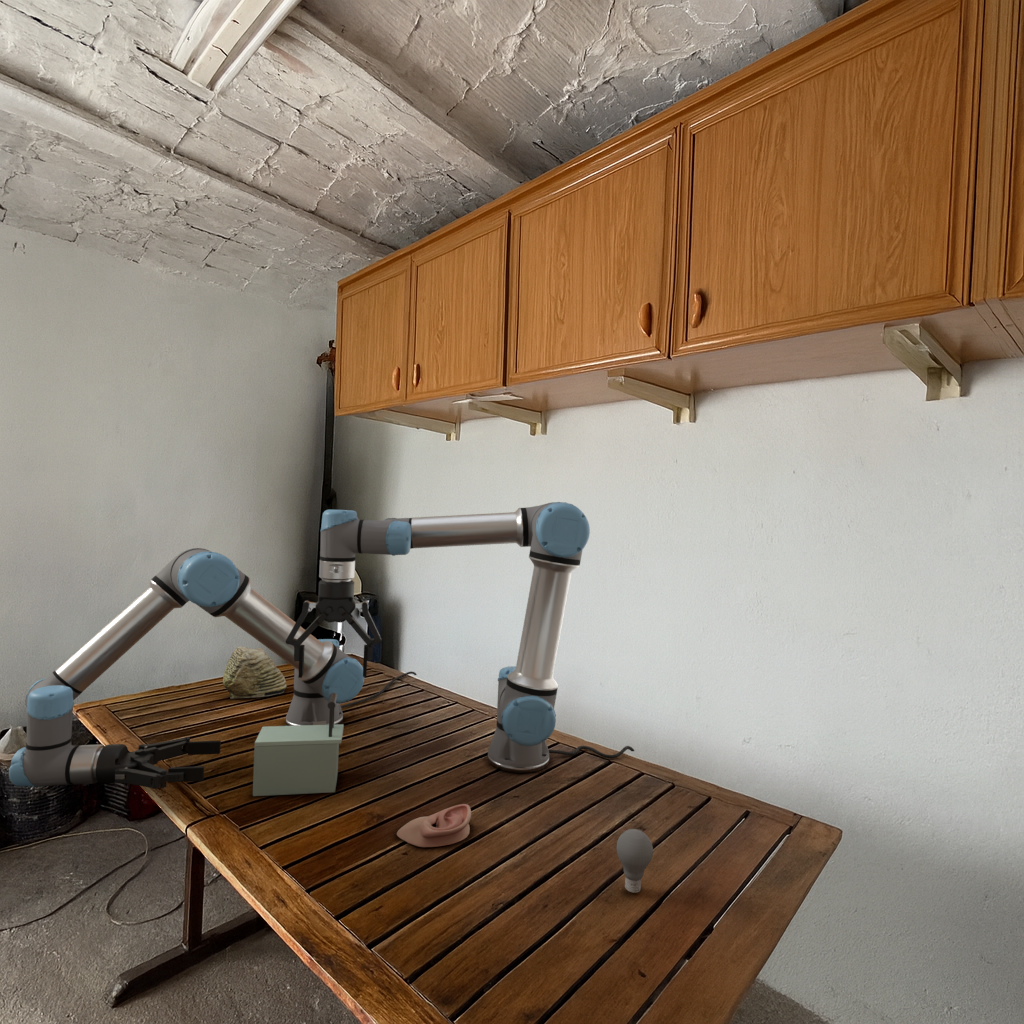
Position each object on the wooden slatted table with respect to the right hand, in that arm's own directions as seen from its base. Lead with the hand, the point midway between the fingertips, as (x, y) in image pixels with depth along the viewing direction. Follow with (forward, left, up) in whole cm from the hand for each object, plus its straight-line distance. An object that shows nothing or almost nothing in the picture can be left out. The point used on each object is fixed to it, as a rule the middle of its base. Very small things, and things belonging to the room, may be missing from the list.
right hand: (333, 675), depth 140 cm
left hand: (+24, -3, -18) cm, 30 cm away
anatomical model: (-18, +27, -24) cm, 40 cm away
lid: (+6, -1, -13) cm, 15 cm away
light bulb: (-45, +54, -24) cm, 74 cm away
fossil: (+18, -68, -24) cm, 74 cm away
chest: (+7, -1, -24) cm, 25 cm away
